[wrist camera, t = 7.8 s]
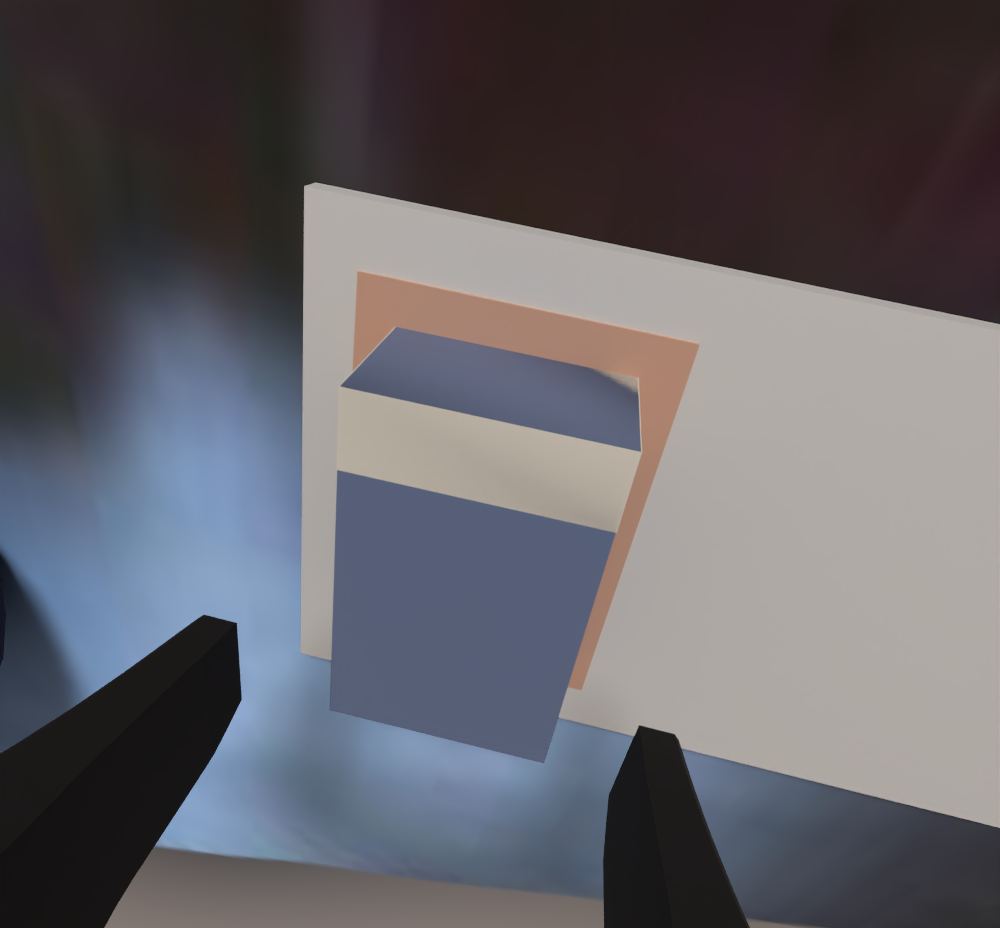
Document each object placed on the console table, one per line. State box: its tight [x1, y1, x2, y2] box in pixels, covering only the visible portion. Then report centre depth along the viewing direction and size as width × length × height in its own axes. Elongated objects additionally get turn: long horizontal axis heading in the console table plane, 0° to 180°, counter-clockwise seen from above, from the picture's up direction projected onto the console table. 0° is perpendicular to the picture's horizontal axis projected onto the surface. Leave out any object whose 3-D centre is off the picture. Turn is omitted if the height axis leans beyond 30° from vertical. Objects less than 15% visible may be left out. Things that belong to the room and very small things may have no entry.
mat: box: [301, 183, 1000, 828], centre depth 17 cm, size 22×14×1 cm, turn 80°
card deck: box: [330, 327, 642, 763], centre depth 15 cm, size 9×6×3 cm, turn 170°
